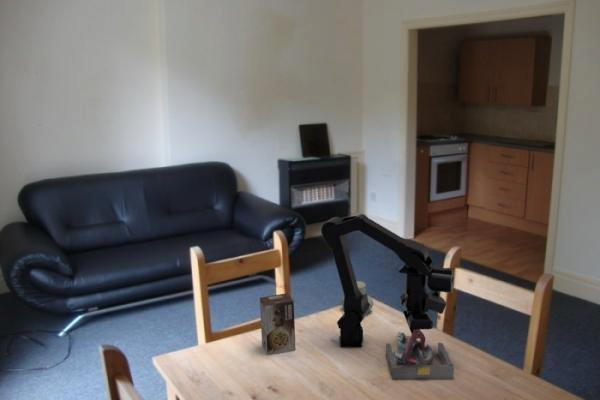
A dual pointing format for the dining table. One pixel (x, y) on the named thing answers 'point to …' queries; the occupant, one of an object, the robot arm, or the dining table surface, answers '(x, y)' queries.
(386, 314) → the dining table surface
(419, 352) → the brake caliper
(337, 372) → the dining table surface
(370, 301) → the air freshener
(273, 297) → the coffee box
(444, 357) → the receiver
